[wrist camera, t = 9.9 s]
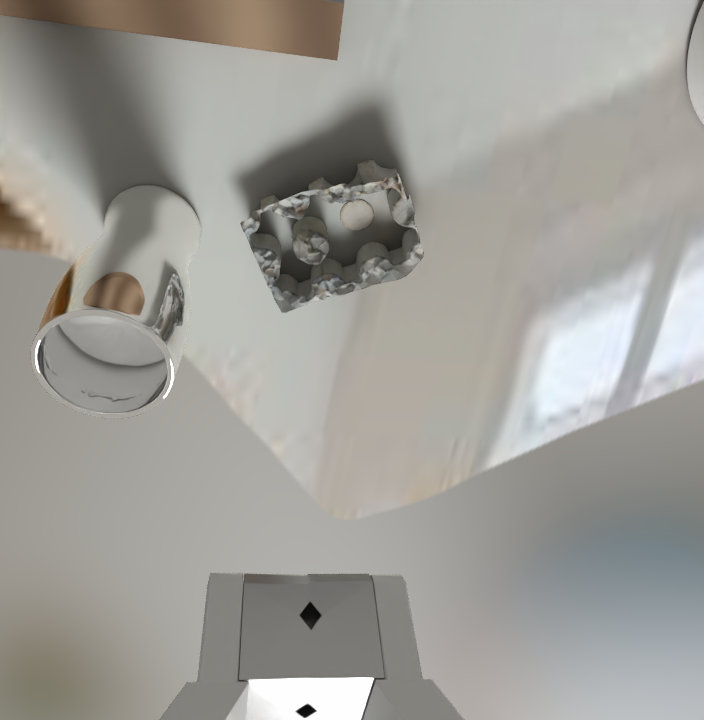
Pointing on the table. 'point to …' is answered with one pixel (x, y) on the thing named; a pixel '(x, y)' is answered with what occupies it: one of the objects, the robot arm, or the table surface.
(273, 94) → the table surface
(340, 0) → the sleeve
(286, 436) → the table surface
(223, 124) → the table surface
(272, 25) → the base board
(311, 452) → the table surface
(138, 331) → the beer glass
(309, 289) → the egg carton
